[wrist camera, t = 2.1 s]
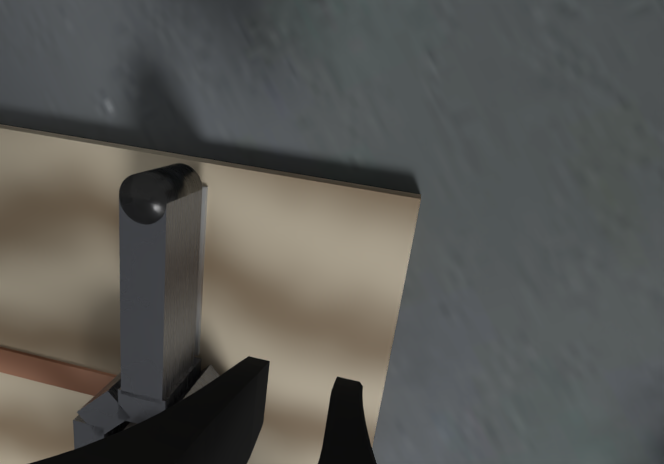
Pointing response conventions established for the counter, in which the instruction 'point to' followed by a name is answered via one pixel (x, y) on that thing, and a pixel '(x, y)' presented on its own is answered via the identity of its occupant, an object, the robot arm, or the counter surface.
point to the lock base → (213, 287)
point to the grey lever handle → (153, 303)
